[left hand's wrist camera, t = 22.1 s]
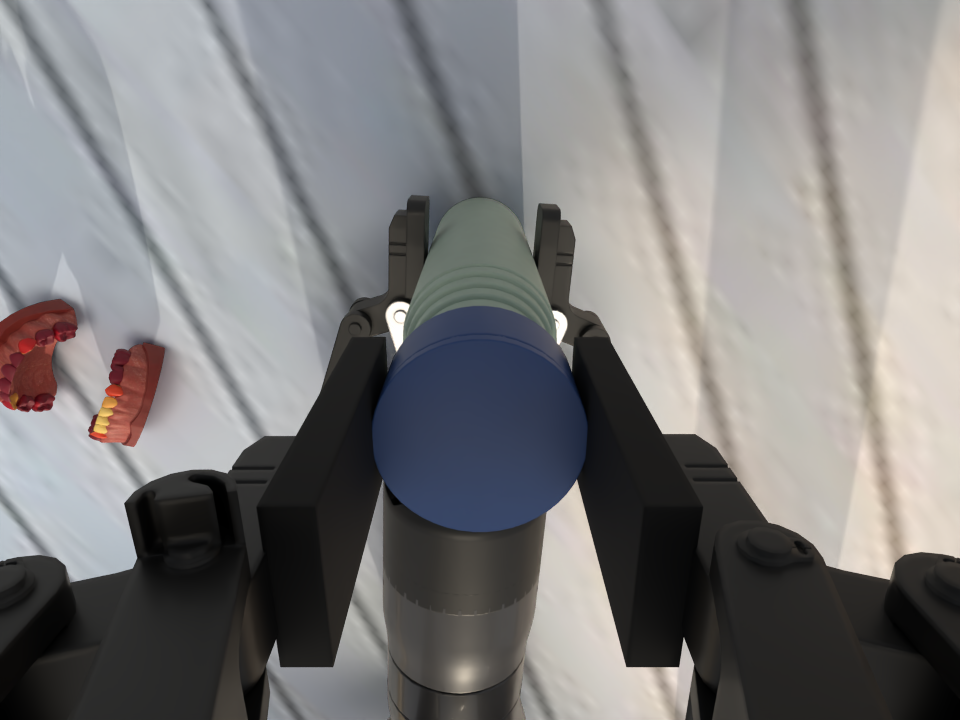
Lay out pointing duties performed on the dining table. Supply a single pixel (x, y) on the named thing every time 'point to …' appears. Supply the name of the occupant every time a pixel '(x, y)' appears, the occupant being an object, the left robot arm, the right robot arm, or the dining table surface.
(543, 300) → the bottle
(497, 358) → the cap
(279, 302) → the dining table surface
